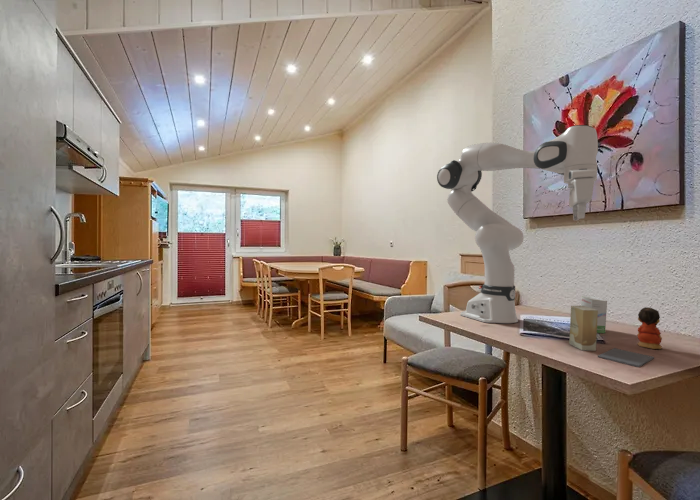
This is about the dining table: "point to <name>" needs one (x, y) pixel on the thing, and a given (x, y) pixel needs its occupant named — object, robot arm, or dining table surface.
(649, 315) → the figurine
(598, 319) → the ink box
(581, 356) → the dining table surface
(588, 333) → the skincare box
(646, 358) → the felt mat
